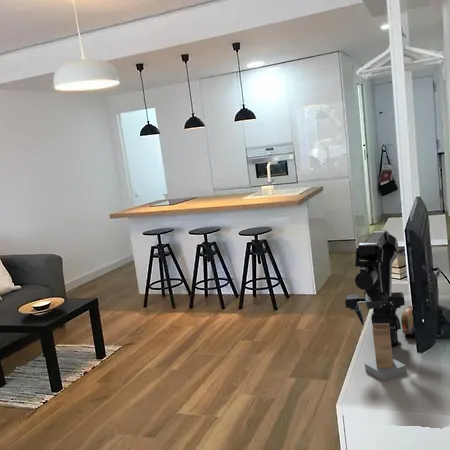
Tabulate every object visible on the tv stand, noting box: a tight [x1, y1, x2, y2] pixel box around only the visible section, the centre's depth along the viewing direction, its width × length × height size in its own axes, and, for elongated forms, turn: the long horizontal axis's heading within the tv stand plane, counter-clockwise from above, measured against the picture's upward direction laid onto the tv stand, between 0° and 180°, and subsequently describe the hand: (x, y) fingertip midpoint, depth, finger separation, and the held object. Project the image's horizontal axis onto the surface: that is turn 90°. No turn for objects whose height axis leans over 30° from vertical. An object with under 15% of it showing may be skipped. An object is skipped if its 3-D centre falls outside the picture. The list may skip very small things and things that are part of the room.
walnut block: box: [372, 323, 394, 368], centre depth 162 cm, size 5×5×13 cm
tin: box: [400, 305, 413, 336], centre depth 190 cm, size 15×3×8 cm, turn 147°
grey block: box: [364, 358, 407, 382], centre depth 163 cm, size 9×9×2 cm
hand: (377, 324), depth 169 cm, fingers open, 9 cm apart
